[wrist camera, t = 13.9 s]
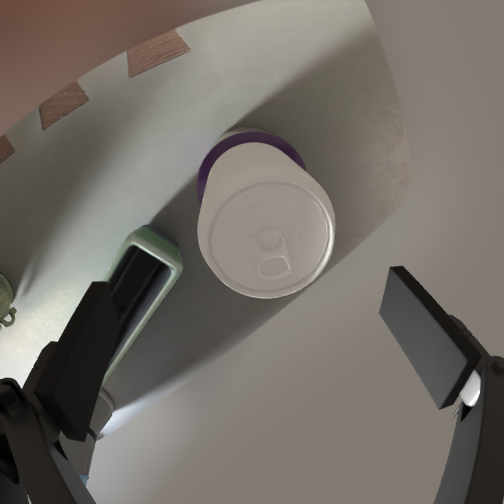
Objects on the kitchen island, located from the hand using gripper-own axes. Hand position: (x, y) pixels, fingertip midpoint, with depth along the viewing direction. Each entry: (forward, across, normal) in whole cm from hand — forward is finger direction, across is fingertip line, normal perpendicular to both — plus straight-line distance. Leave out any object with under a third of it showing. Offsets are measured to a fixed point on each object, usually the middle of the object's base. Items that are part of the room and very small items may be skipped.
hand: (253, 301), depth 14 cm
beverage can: (+16, -2, -1) cm, 16 cm away
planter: (+25, +17, +16) cm, 34 cm away
